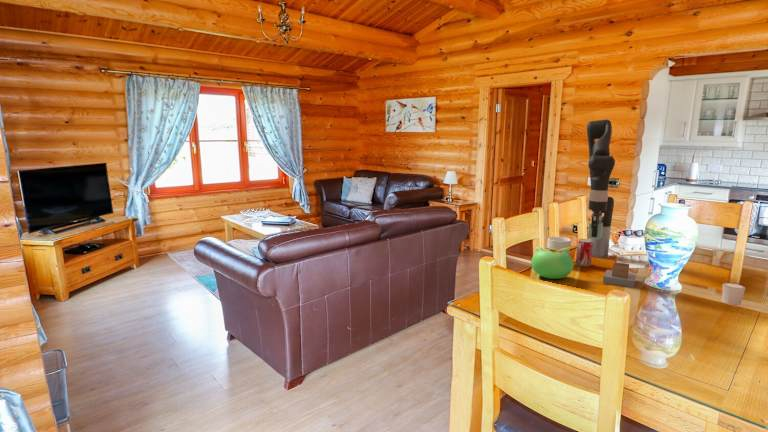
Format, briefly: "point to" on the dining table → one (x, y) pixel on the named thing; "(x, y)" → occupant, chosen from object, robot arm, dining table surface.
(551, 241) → the mug
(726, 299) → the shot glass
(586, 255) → the soda can
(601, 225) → the teal block
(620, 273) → the walnut block
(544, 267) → the green round pot
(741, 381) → the dining table surface
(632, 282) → the slate base
